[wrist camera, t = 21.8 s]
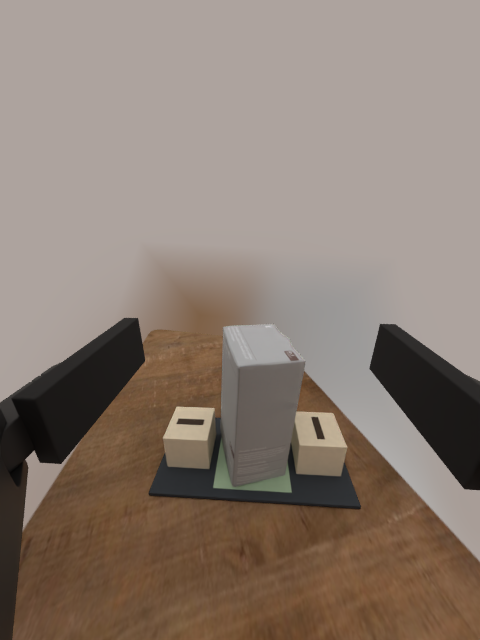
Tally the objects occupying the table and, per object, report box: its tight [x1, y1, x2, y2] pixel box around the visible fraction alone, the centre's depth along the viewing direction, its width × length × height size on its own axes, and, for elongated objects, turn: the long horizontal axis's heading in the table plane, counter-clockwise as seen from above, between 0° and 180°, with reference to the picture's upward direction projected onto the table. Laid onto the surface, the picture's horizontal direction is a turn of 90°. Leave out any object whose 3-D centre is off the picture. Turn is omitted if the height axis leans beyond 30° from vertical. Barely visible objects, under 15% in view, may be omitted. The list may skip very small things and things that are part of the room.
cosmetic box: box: [220, 324, 305, 487], centre depth 27 cm, size 8×7×16 cm
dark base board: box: [149, 407, 361, 509], centre depth 29 cm, size 22×11×5 cm, turn 86°
